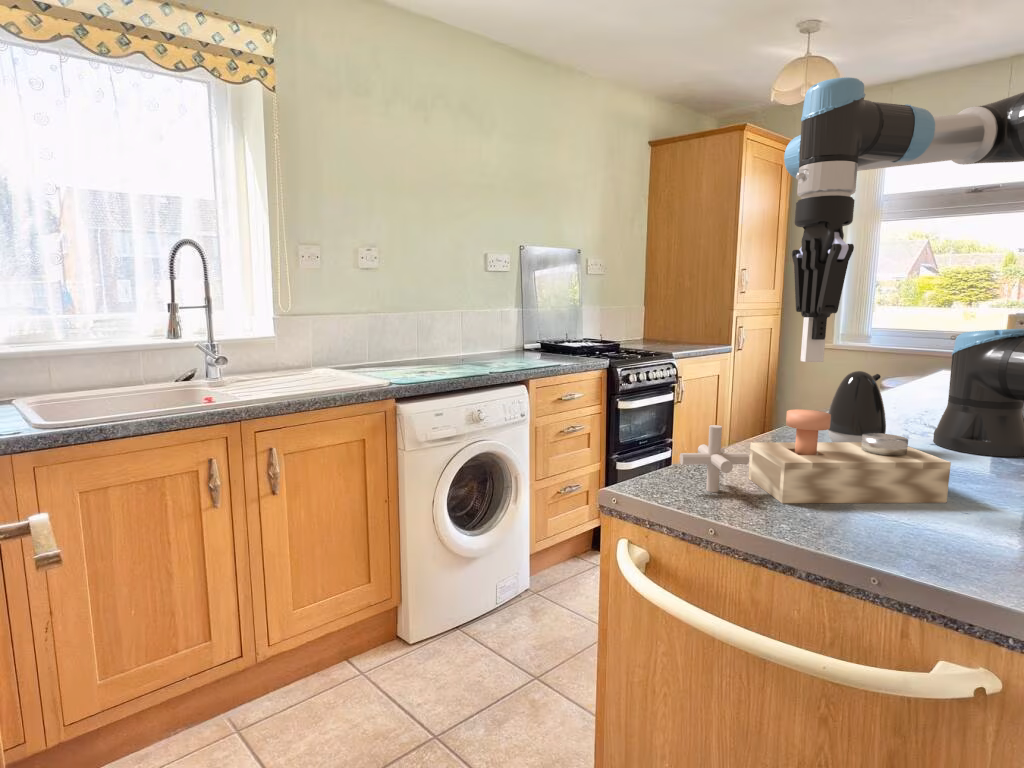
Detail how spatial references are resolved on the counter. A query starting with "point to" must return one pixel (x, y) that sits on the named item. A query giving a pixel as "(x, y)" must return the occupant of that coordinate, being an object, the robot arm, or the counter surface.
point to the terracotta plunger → (807, 428)
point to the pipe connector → (714, 458)
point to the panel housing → (847, 474)
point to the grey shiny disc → (884, 444)
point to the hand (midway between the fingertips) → (811, 361)
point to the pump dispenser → (856, 408)
